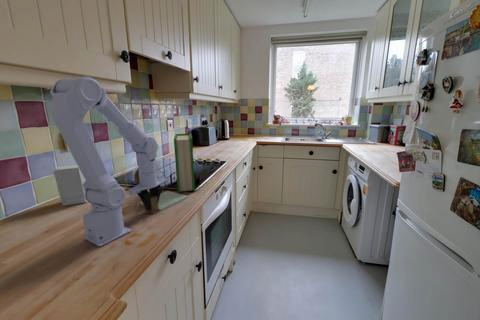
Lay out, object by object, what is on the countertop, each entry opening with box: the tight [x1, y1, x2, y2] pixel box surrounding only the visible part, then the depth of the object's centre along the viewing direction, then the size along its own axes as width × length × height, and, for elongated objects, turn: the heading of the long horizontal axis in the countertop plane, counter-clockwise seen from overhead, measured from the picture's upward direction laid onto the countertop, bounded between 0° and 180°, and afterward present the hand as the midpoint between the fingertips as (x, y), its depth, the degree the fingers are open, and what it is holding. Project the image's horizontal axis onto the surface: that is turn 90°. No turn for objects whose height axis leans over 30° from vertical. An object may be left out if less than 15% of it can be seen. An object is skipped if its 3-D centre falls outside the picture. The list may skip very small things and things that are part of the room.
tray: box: [139, 190, 189, 212], centre depth 92 cm, size 14×12×1 cm
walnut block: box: [144, 195, 160, 215], centre depth 82 cm, size 2×4×6 cm, turn 58°
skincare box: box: [53, 164, 88, 207], centre depth 90 cm, size 8×6×15 cm
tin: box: [133, 168, 140, 186], centre depth 114 cm, size 15×3×8 cm, turn 168°
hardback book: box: [173, 133, 196, 194], centre depth 106 cm, size 18×7×24 cm, turn 13°
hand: (151, 207), depth 82 cm, fingers closed on walnut block, 2 cm apart
